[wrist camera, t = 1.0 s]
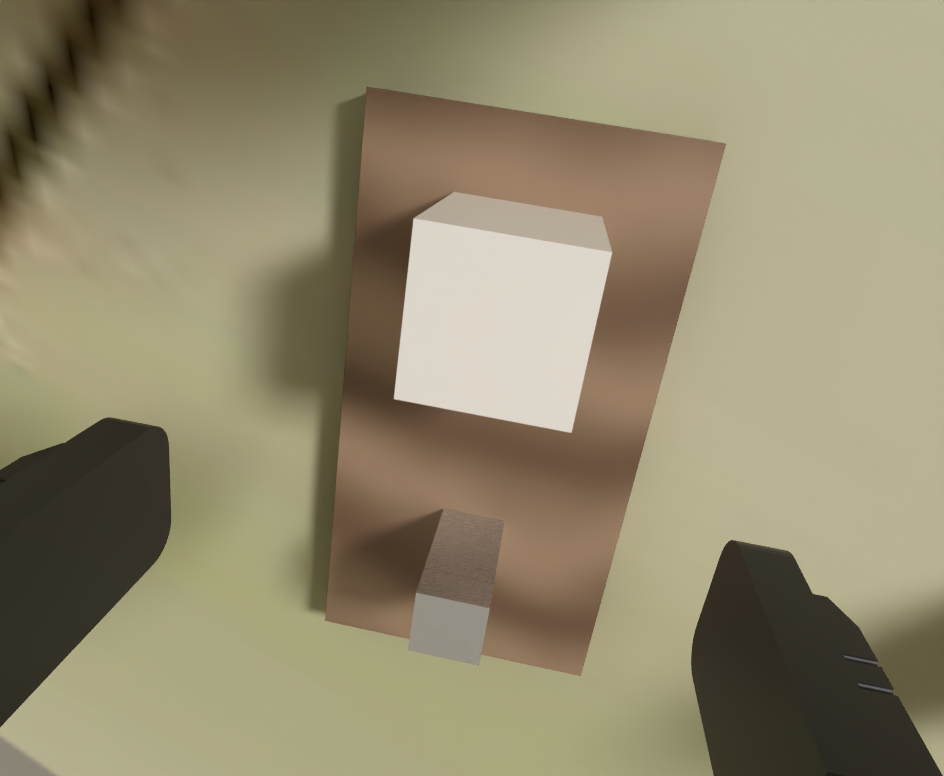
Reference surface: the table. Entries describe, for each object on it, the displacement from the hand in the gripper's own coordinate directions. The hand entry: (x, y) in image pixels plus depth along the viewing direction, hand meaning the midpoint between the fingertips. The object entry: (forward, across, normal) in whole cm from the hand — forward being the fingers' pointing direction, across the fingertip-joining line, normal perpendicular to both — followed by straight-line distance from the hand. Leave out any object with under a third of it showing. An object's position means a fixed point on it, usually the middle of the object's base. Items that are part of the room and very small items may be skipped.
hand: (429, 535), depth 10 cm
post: (+16, 0, +11) cm, 20 cm away
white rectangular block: (+16, 0, 0) cm, 16 cm away
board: (+18, 0, +6) cm, 19 cm away
